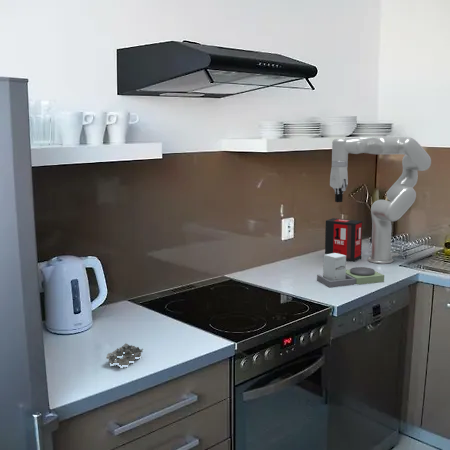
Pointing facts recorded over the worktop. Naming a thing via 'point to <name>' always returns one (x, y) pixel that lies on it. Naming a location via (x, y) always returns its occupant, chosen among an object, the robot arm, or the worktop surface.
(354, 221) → the cleaning product box
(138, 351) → the grey lumpy cluster
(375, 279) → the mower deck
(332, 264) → the supplement box
